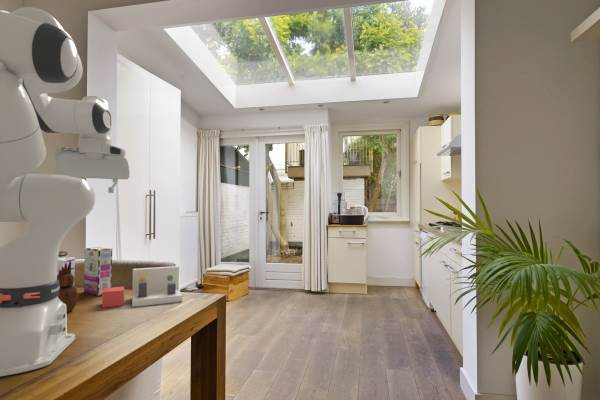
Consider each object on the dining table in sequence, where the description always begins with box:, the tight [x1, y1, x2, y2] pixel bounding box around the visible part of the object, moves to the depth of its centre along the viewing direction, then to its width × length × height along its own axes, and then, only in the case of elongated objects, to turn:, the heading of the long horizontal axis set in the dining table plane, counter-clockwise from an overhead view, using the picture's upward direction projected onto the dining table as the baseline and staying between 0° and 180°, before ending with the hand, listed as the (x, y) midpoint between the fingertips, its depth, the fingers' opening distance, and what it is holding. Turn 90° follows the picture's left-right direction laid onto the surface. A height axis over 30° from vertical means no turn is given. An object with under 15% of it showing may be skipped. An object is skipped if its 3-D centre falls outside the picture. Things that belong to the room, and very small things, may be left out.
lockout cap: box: [101, 286, 125, 308], centre depth 111 cm, size 6×6×5 cm
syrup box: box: [57, 256, 76, 286], centre depth 114 cm, size 6×6×14 cm
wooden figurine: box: [57, 261, 79, 313], centre depth 103 cm, size 7×6×15 cm
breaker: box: [138, 282, 147, 298], centre depth 113 cm, size 2×2×5 cm
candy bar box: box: [83, 246, 113, 297], centre depth 125 cm, size 11×5×16 cm, turn 55°
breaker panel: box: [131, 265, 183, 308], centre depth 117 cm, size 12×15×10 cm
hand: (94, 192), depth 109 cm, fingers open, 8 cm apart
